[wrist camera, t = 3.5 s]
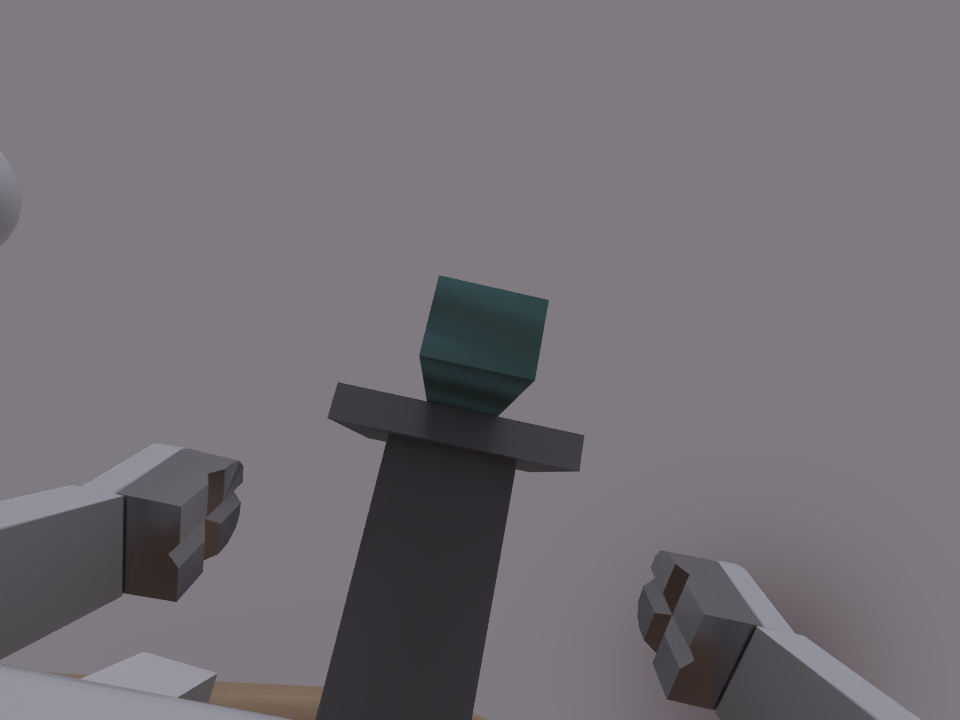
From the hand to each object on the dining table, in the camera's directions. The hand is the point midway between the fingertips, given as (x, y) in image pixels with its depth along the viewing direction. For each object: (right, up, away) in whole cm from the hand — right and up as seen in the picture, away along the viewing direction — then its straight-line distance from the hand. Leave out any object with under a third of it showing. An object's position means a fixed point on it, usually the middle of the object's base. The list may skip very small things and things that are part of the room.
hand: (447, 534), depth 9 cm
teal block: (-1, 0, +20) cm, 20 cm away
